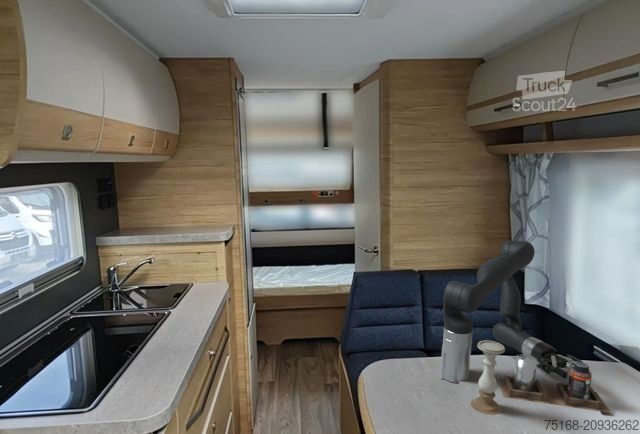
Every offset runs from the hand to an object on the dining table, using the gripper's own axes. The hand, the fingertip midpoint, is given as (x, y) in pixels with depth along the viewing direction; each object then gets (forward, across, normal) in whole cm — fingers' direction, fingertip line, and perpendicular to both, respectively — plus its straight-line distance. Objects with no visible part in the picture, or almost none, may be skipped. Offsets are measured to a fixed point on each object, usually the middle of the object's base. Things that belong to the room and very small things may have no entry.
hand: (577, 374), depth 139 cm
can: (-7, -14, +8) cm, 17 cm away
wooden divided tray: (-3, -7, +8) cm, 11 cm away
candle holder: (-2, -32, +9) cm, 33 cm away
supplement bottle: (+1, 0, +8) cm, 8 cm away
